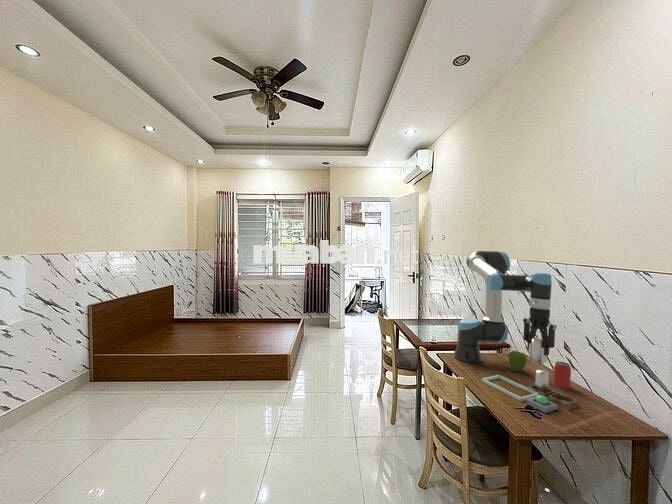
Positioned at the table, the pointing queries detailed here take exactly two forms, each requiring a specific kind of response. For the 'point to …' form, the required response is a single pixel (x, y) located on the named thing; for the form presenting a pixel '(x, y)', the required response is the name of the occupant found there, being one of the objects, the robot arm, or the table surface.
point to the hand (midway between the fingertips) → (537, 359)
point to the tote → (486, 380)
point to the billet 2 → (542, 380)
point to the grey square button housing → (545, 409)
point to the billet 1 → (536, 350)
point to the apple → (517, 361)
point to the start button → (541, 399)
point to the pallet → (558, 398)
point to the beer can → (562, 375)
